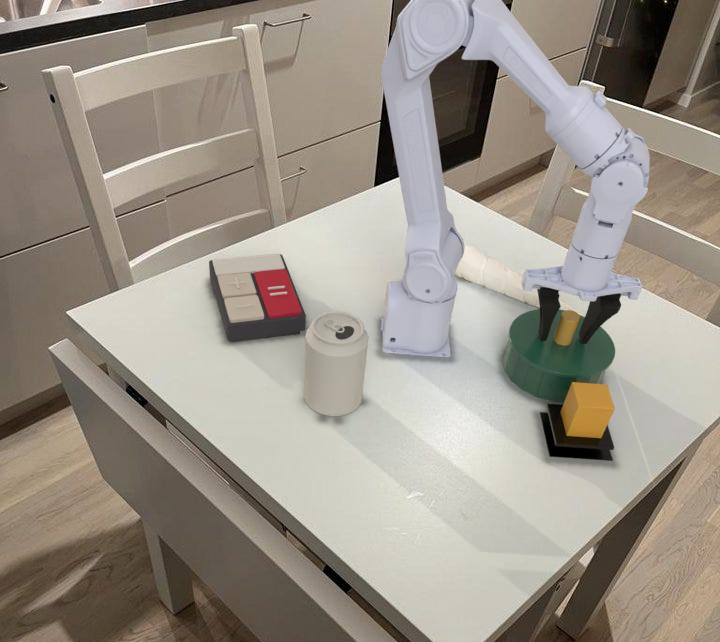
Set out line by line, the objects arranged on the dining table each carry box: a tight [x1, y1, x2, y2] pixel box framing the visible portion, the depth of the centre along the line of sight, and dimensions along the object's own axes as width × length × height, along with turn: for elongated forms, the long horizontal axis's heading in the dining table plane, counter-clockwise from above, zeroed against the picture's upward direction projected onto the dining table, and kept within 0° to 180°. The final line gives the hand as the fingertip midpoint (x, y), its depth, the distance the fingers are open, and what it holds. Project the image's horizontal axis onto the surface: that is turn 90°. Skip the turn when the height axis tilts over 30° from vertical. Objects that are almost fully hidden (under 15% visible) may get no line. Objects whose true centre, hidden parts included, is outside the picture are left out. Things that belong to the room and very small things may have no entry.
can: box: [303, 310, 369, 417], centre depth 90 cm, size 8×8×12 cm
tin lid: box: [508, 308, 616, 378], centre depth 97 cm, size 14×14×5 cm
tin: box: [502, 340, 607, 403], centre depth 100 cm, size 13×13×5 cm
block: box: [561, 382, 616, 438], centre depth 90 cm, size 4×4×5 cm
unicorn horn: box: [454, 245, 586, 317], centre depth 111 cm, size 5×24×5 cm, turn 54°
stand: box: [539, 403, 615, 462], centre depth 93 cm, size 8×8×2 cm
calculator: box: [208, 253, 307, 343], centre depth 105 cm, size 11×4×15 cm
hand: (562, 337), depth 98 cm, fingers open, 5 cm apart
